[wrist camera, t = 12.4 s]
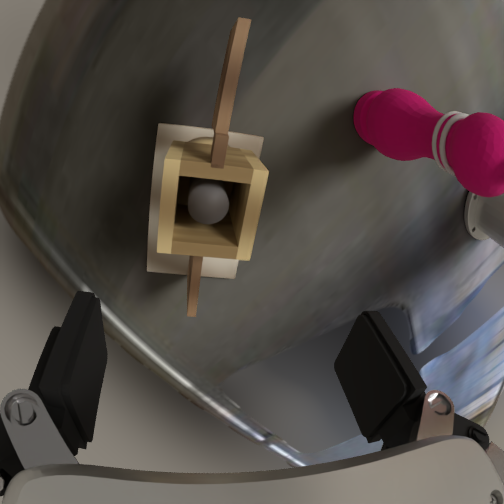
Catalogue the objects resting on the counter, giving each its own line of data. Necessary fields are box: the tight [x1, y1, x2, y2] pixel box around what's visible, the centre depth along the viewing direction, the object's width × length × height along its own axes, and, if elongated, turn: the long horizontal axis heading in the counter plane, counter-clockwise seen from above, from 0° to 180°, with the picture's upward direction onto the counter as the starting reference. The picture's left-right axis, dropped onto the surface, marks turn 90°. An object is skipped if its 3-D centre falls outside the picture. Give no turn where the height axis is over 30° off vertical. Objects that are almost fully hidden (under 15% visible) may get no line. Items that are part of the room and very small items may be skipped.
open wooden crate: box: [157, 18, 269, 261], centre depth 21 cm, size 16×7×7 cm, turn 169°
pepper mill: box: [353, 88, 504, 197], centre depth 21 cm, size 7×7×20 cm
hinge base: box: [147, 123, 264, 317], centre depth 27 cm, size 16×10×10 cm, turn 169°
